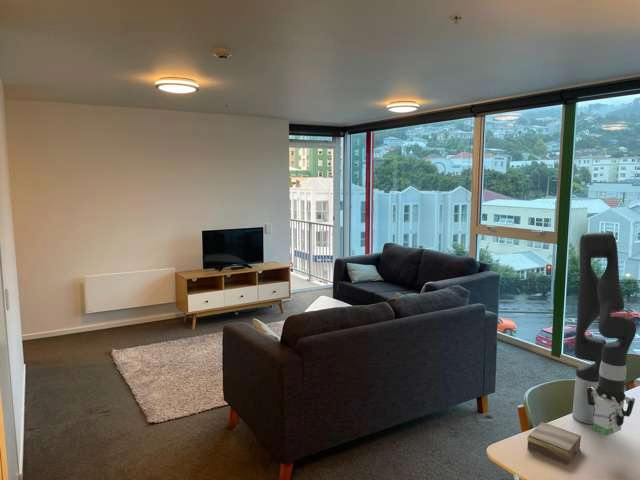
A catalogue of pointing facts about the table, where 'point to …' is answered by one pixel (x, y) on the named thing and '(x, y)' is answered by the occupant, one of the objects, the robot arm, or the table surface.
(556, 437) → the walnut dock
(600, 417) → the ink box
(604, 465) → the table surface
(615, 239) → the robot arm
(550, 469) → the table surface
